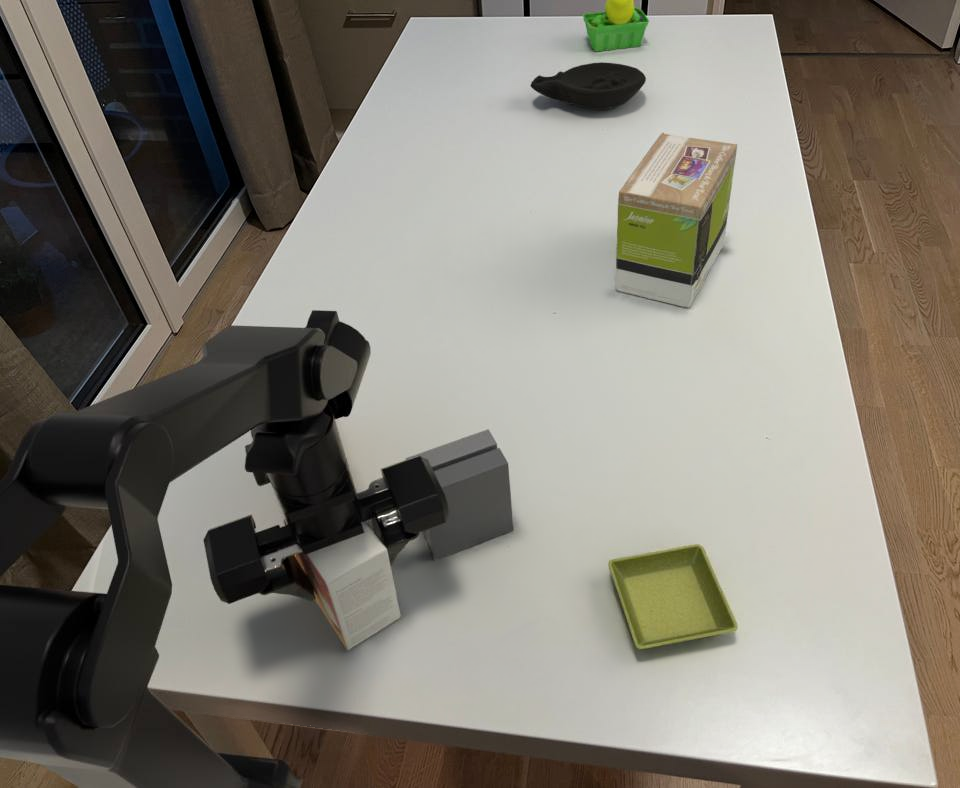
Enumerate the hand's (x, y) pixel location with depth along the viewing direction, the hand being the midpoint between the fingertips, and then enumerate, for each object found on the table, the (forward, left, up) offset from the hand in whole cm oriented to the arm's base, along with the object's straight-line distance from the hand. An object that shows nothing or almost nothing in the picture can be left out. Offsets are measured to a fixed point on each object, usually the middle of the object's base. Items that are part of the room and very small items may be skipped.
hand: (348, 581), depth 69 cm
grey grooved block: (+12, +3, -3) cm, 13 cm away
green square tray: (+25, -12, -4) cm, 28 cm away
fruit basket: (+80, +97, -4) cm, 126 cm away
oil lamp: (+64, +78, -4) cm, 101 cm away
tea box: (+51, +30, -4) cm, 59 cm away
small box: (0, 0, -4) cm, 4 cm away
